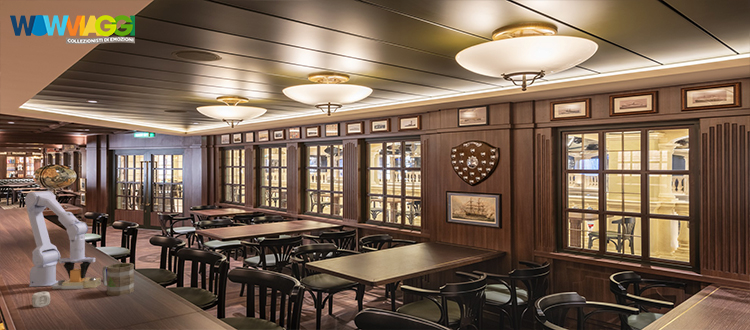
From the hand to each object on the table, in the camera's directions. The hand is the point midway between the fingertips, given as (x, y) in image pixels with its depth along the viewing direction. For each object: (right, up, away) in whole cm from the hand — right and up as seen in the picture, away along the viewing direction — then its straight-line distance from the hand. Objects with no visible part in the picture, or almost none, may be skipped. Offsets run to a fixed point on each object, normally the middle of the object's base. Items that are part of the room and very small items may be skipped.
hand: (77, 278), depth 204 cm
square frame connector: (0, -4, 0) cm, 4 cm away
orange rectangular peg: (0, -4, 0) cm, 4 cm away
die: (+4, -4, -27) cm, 27 cm away
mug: (+23, -4, -7) cm, 24 cm away
